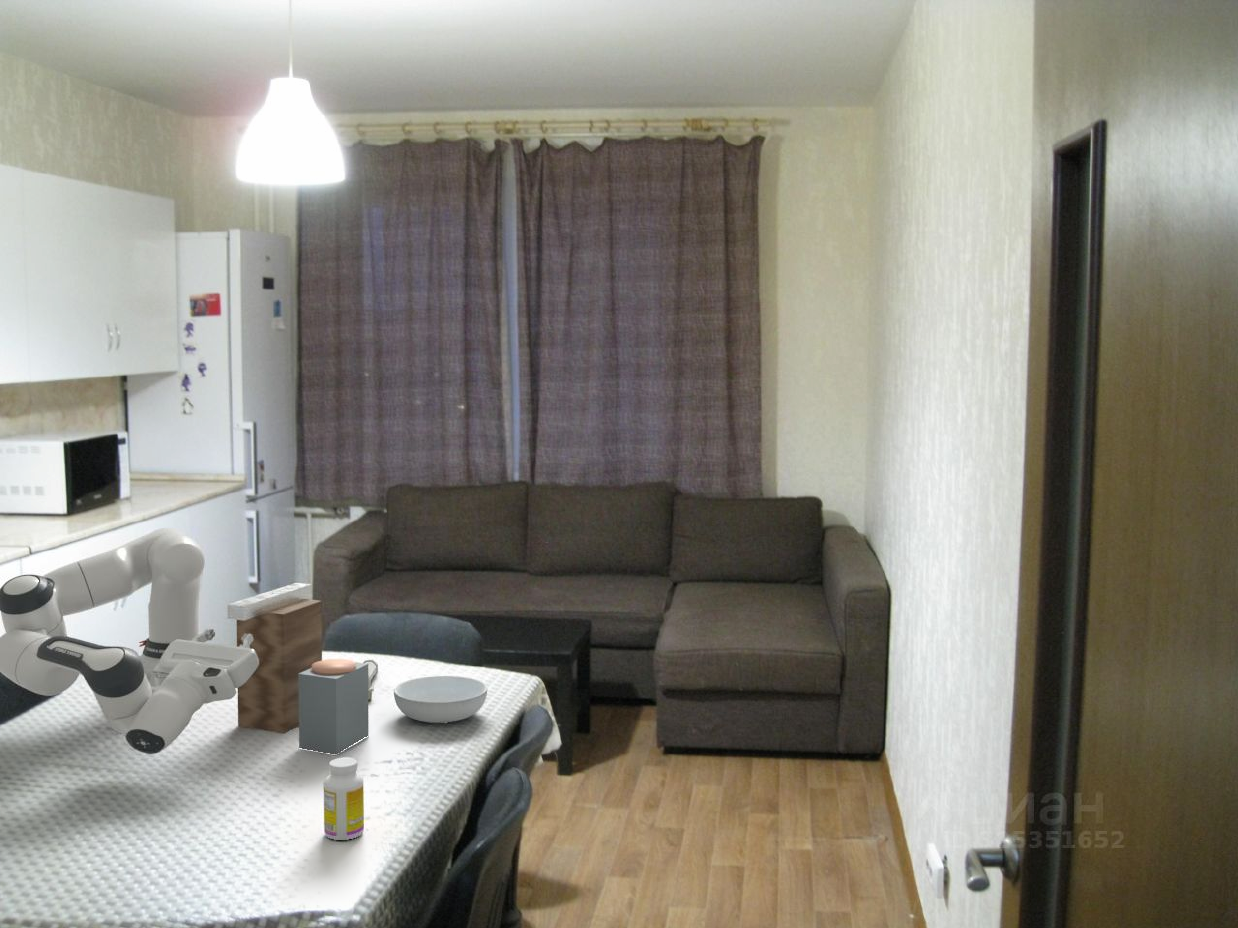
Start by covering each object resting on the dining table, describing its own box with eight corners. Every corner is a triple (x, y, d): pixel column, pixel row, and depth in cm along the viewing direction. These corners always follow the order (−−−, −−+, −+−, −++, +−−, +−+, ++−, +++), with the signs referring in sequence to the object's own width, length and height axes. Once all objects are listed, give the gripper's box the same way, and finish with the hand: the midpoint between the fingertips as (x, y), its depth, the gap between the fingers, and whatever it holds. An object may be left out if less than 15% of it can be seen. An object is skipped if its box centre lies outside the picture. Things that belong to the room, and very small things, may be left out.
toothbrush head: (380, 658, 302) (372, 672, 277) (380, 684, 301) (372, 701, 277) (359, 658, 301) (349, 672, 276) (359, 685, 301) (348, 701, 276)
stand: (238, 725, 259) (236, 608, 256) (277, 707, 272) (276, 595, 270) (284, 733, 255) (283, 614, 252) (322, 714, 268) (321, 600, 265)
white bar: (227, 618, 248) (227, 604, 247) (296, 595, 270) (296, 582, 270) (243, 620, 246) (243, 606, 246) (311, 597, 269) (311, 584, 268)
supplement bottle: (367, 826, 209) (366, 755, 207) (360, 842, 202) (359, 769, 201) (328, 826, 208) (328, 754, 207) (320, 842, 202) (319, 768, 200)
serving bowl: (495, 705, 278) (495, 676, 277) (476, 735, 257) (476, 704, 256) (408, 700, 280) (408, 672, 279) (381, 730, 259) (381, 699, 258)
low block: (299, 749, 246) (298, 669, 244) (332, 731, 257) (331, 655, 255) (336, 755, 243) (336, 674, 241) (368, 737, 254) (368, 660, 252)
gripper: (154, 687, 240) (194, 639, 250) (239, 699, 233) (276, 649, 243) (142, 664, 236) (183, 617, 247) (228, 676, 229) (266, 627, 240)
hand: (230, 633), depth 245 cm, fingers open, 8 cm apart
